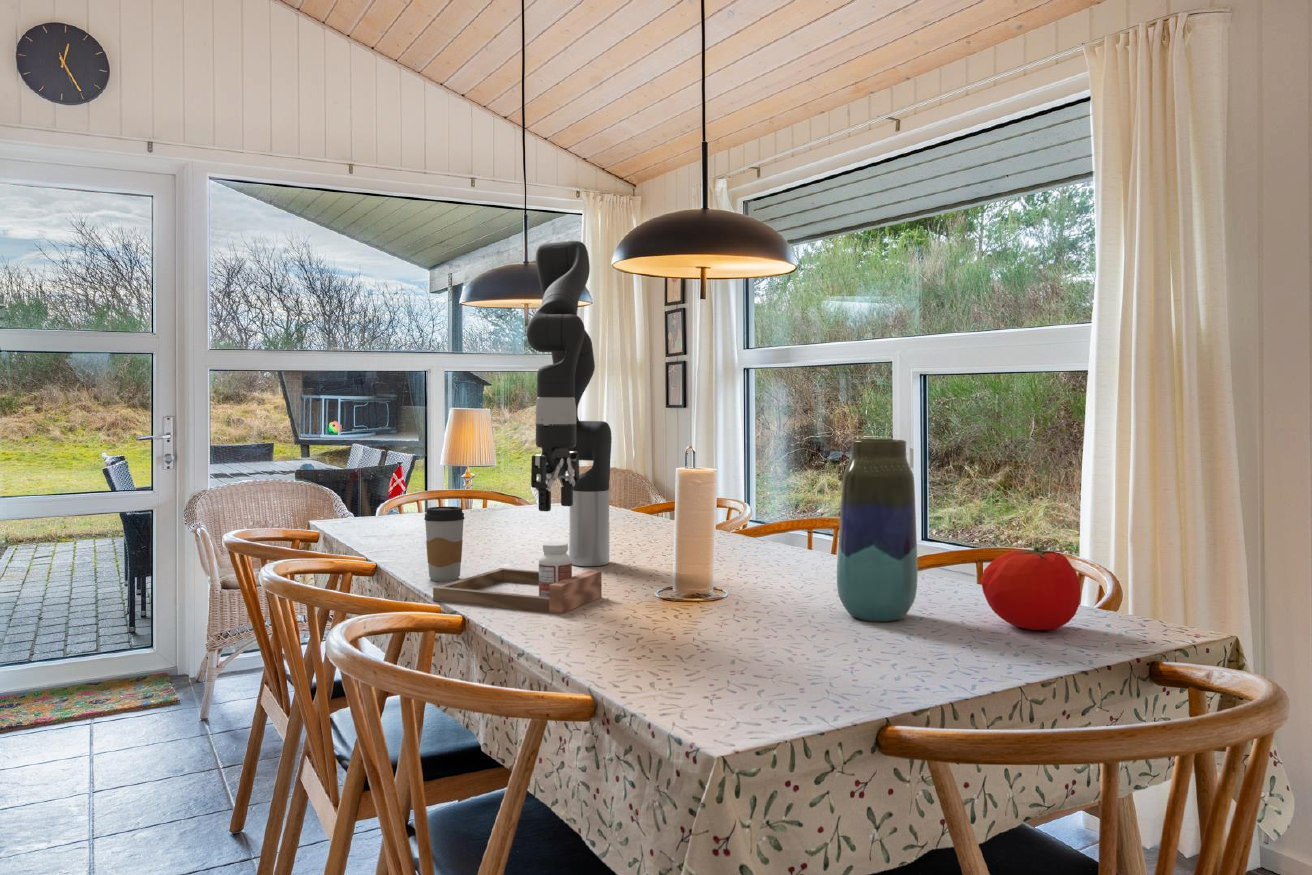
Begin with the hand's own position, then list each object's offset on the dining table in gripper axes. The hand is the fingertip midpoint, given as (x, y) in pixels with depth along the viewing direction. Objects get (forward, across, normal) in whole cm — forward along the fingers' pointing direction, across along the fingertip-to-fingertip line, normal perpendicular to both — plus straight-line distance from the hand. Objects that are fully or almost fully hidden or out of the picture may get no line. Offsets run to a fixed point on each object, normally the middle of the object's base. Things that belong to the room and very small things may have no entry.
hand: (556, 508), depth 176 cm
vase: (+18, -13, +57) cm, 61 cm away
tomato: (+18, -15, +82) cm, 85 cm away
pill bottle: (+18, 0, 0) cm, 18 cm away
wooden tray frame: (+18, -4, -8) cm, 20 cm away
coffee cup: (+18, -11, -33) cm, 39 cm away
